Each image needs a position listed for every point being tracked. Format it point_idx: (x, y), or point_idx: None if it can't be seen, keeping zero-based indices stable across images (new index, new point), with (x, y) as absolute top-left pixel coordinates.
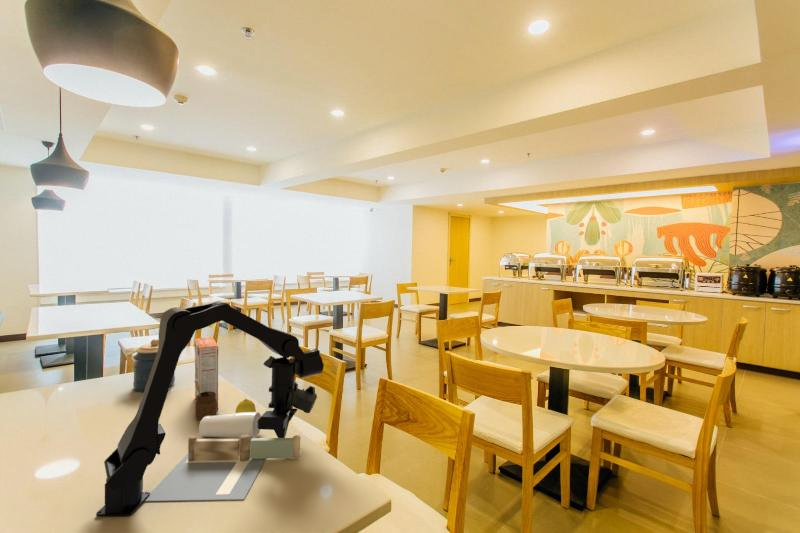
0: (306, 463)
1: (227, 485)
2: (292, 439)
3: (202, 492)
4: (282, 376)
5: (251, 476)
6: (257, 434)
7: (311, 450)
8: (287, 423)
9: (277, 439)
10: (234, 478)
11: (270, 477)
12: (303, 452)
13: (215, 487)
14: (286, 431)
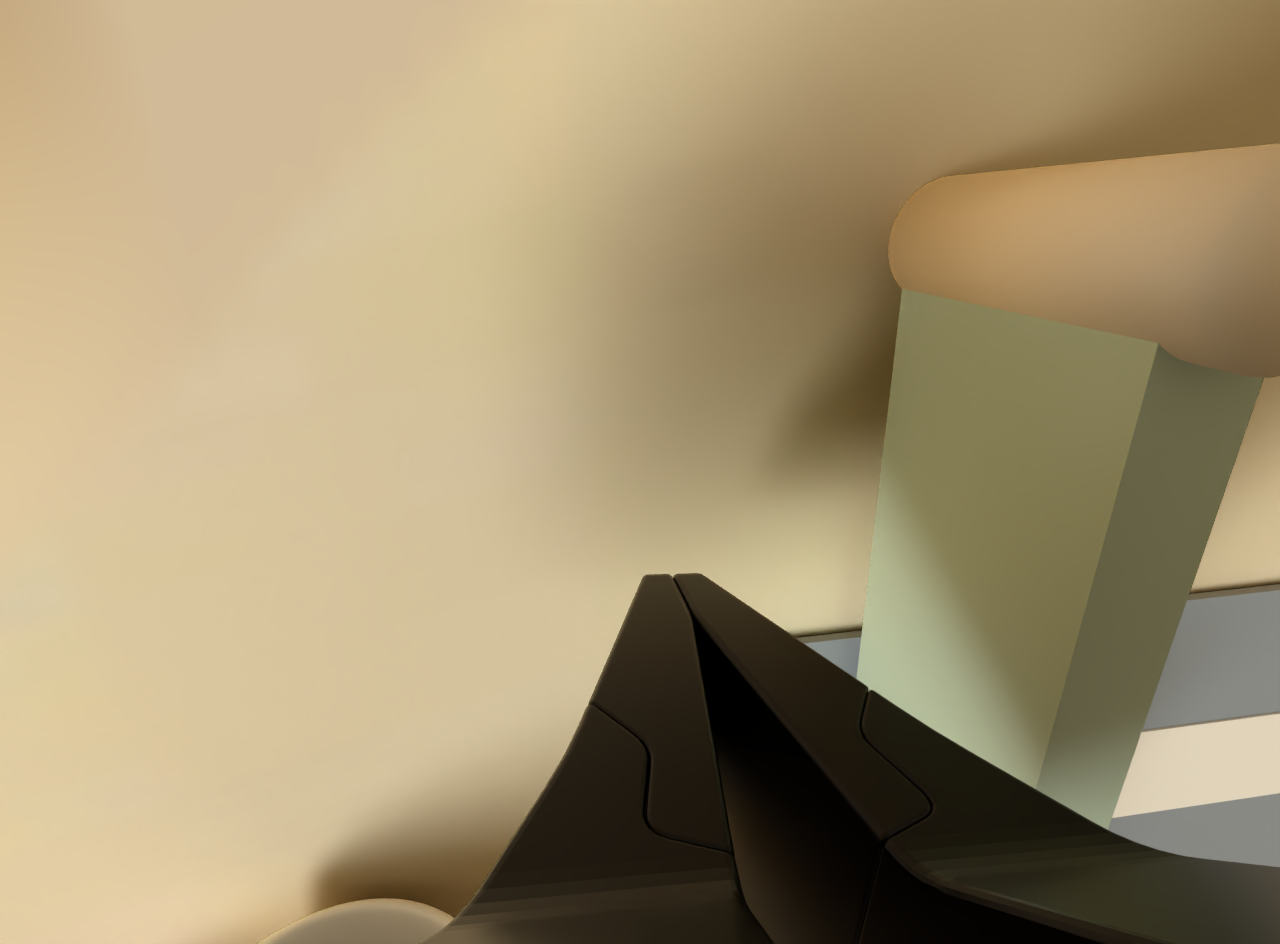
0: (1067, 27)
1: (1257, 760)
2: (1221, 372)
3: (1276, 864)
4: None
5: (1186, 638)
6: (342, 921)
7: (667, 13)
8: (714, 787)
9: (1116, 688)
10: (1175, 755)
11: (1243, 452)
12: (731, 165)
13: (1244, 821)
14: (644, 637)
